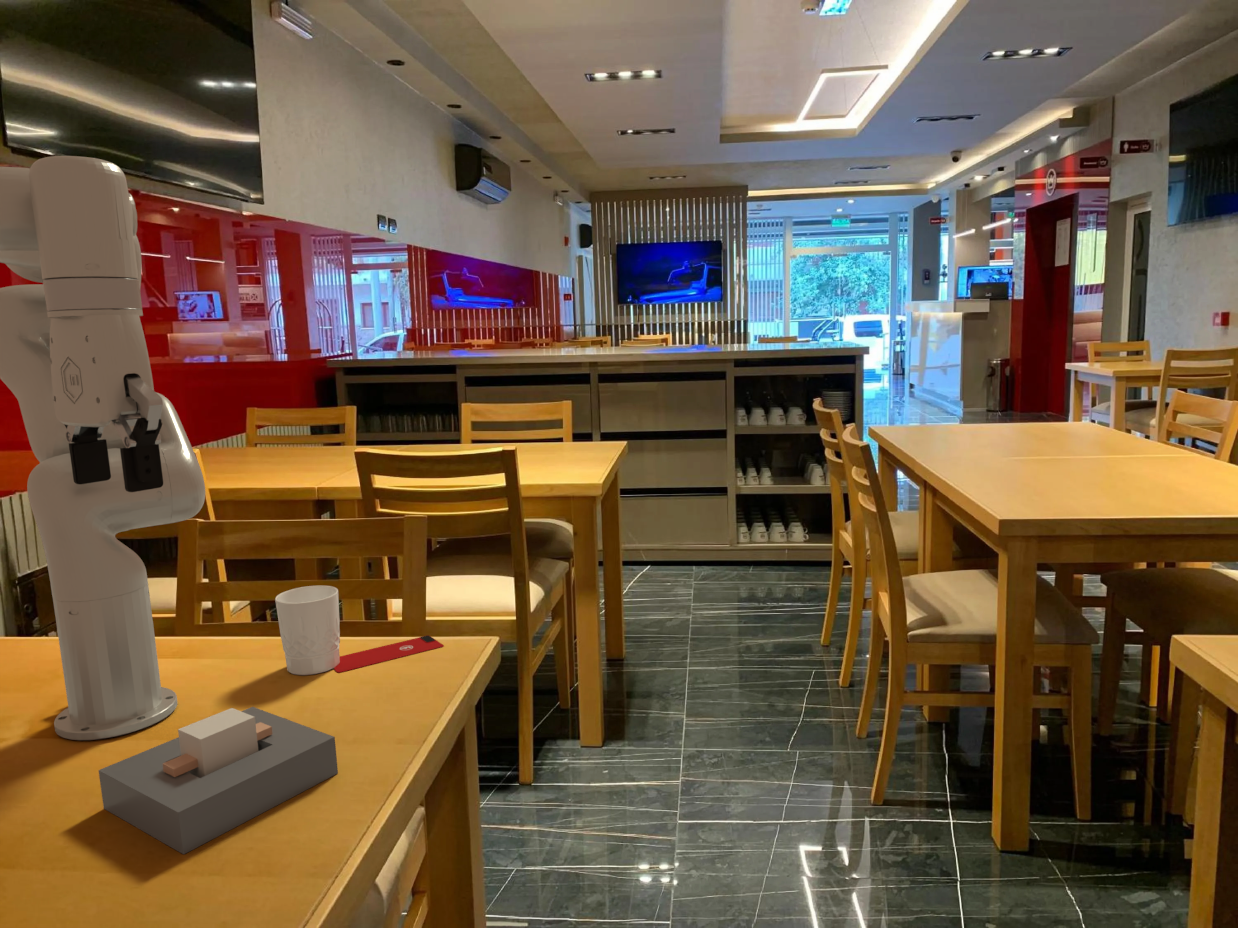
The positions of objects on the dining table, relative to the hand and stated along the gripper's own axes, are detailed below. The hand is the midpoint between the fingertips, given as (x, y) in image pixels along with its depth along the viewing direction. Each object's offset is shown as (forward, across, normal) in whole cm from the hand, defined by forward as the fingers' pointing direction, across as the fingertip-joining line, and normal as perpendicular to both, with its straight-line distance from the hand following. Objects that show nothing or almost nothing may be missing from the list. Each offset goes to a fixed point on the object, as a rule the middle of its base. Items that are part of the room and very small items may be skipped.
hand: (118, 485), depth 82 cm
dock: (+30, +7, +3) cm, 31 cm away
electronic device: (+31, -8, +36) cm, 48 cm away
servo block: (+29, +7, +3) cm, 30 cm away
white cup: (+31, -13, +28) cm, 43 cm away
